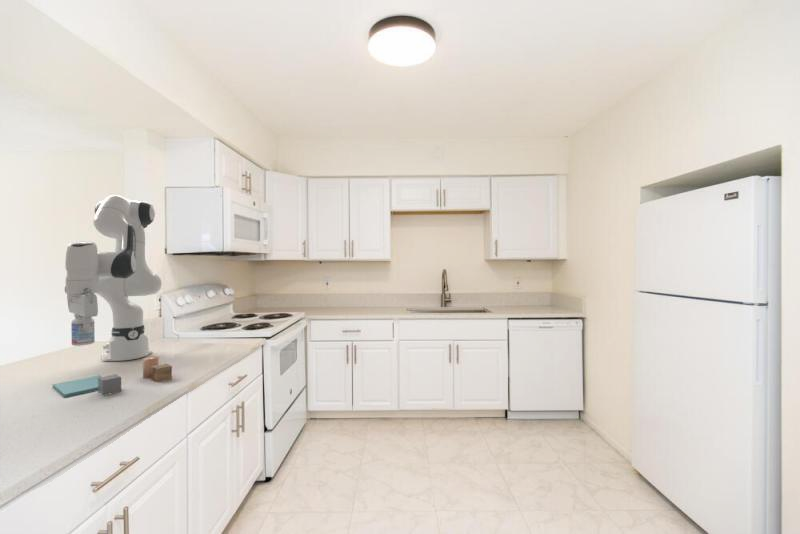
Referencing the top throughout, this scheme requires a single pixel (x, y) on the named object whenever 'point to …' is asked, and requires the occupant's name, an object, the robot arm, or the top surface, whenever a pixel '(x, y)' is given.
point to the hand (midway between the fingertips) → (83, 327)
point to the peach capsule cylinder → (149, 365)
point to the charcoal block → (109, 384)
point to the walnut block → (161, 372)
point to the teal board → (77, 386)
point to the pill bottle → (82, 332)
